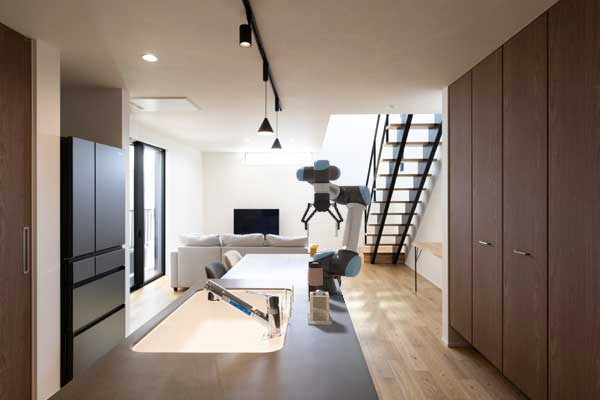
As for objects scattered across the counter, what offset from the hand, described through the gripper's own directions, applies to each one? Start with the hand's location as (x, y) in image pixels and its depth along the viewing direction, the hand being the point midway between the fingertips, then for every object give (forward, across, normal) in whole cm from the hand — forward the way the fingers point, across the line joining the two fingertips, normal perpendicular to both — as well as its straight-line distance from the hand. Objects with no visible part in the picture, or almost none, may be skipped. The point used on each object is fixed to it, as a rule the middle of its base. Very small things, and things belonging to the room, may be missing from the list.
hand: (322, 237), depth 175 cm
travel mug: (+35, -3, +14) cm, 38 cm away
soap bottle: (+36, -1, +49) cm, 61 cm away
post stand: (+34, -3, -18) cm, 38 cm away
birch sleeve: (+33, -3, -18) cm, 37 cm away
